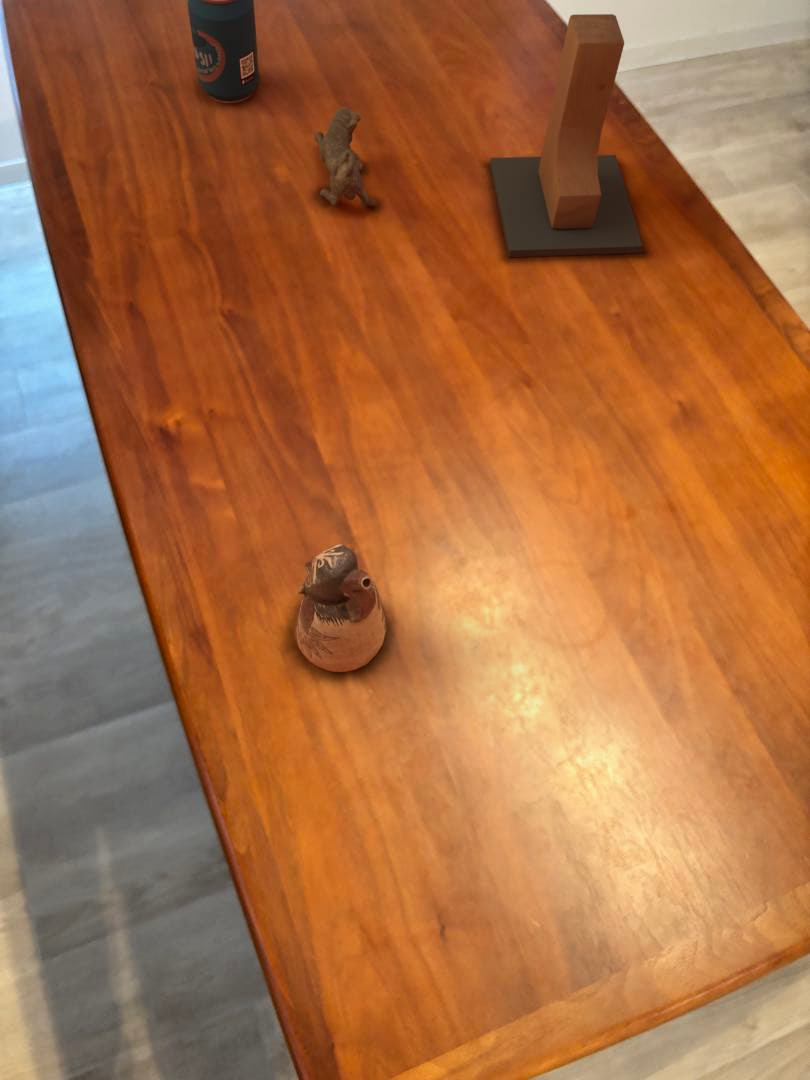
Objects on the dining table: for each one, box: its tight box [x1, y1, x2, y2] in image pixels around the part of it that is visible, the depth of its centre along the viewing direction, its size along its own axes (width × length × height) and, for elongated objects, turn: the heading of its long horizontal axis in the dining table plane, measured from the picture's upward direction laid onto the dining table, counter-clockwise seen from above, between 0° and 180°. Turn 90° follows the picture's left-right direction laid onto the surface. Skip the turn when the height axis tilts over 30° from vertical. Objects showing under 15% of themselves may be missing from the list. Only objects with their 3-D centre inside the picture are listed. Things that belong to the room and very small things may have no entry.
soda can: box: [186, 0, 261, 104], centre depth 109 cm, size 7×7×12 cm
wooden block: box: [538, 13, 625, 229], centre depth 99 cm, size 9×4×18 cm, turn 6°
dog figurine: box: [314, 106, 378, 207], centre depth 105 cm, size 12×6×7 cm, turn 9°
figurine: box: [294, 543, 387, 673], centre depth 76 cm, size 7×7×12 cm
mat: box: [489, 154, 644, 258], centre depth 107 cm, size 14×14×1 cm
